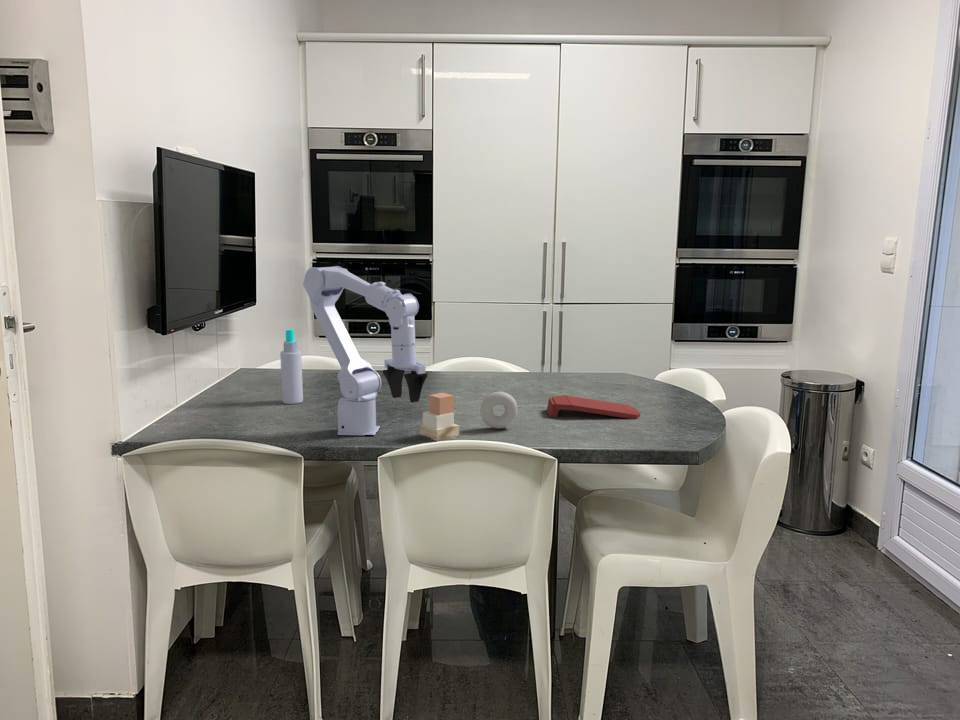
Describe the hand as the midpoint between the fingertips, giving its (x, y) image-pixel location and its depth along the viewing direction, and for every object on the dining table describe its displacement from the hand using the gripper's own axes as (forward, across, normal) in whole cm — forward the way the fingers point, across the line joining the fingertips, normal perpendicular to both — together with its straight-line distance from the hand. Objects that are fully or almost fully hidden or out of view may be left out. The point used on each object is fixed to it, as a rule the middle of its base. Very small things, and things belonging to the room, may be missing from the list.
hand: (405, 399), depth 179 cm
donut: (+11, -6, -25) cm, 28 cm away
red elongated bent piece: (+12, -11, -56) cm, 59 cm away
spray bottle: (+9, +56, +3) cm, 56 cm away
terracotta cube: (+4, -2, -9) cm, 11 cm away
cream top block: (+8, -2, -9) cm, 12 cm away
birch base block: (+11, -2, -9) cm, 14 cm away
